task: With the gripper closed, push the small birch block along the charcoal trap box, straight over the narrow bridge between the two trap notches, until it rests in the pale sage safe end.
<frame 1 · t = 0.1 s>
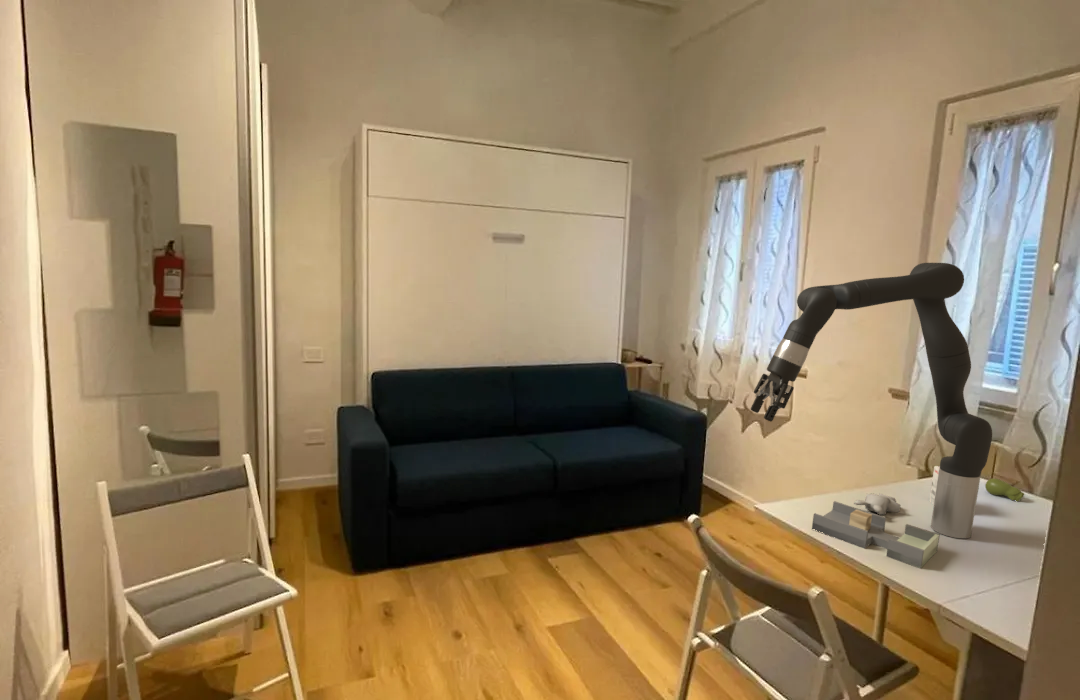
hand: (760, 415, 157), 31 cm above the table, tool tilted 20°, fingers open, 8 cm apart
bunny figurine: (877, 512, 176), on the table
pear: (1003, 497, 192), on the table
ink box: (943, 508, 181), on the table
trap box: (872, 539, 157), on the table
birch block: (859, 528, 160), point 2 cm above the table, touching trap box
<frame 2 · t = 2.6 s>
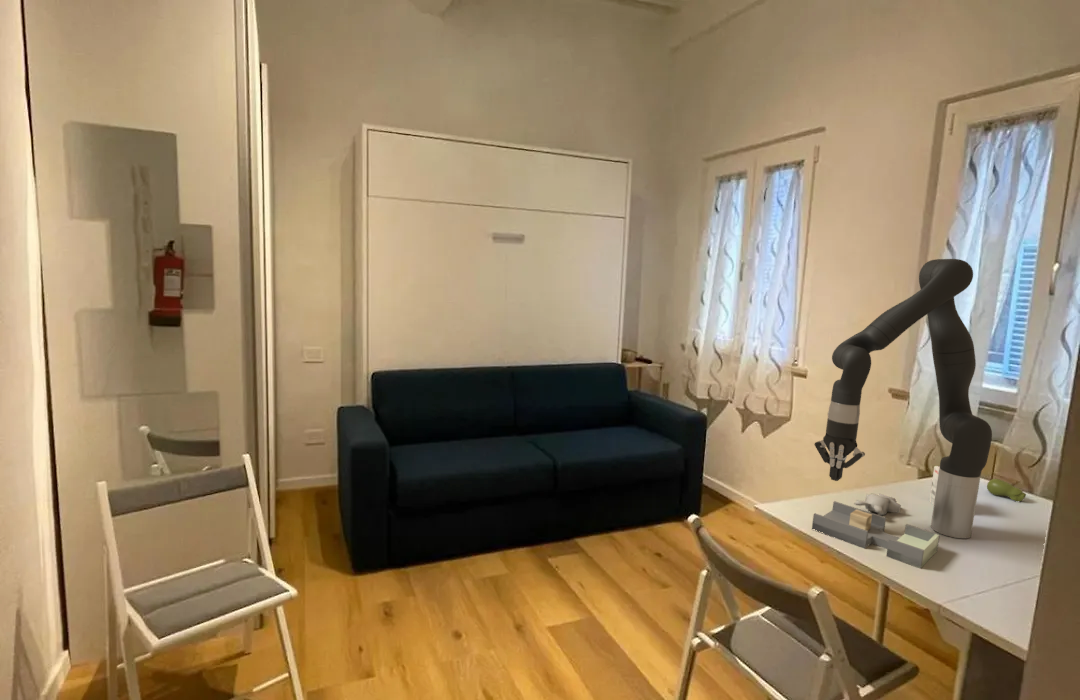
hand: (834, 479, 163), 13 cm above the table, tool pointing down, fingers closed
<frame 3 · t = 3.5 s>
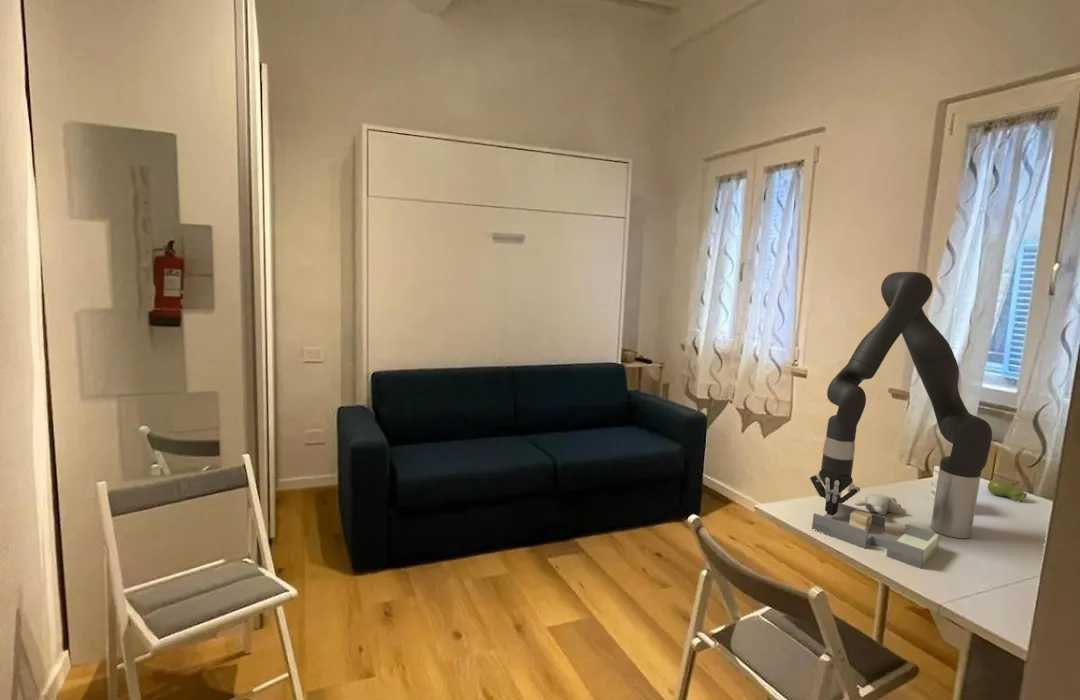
hand: (830, 514, 165), 3 cm above the table, tool pointing down, fingers closed
nothing on the table moved.
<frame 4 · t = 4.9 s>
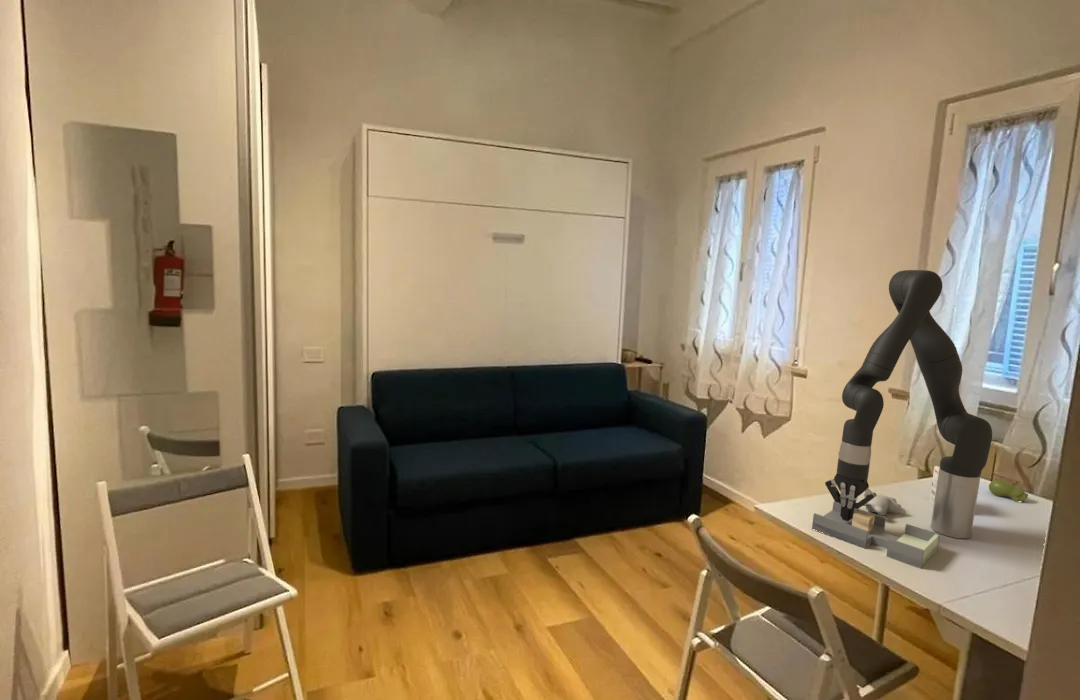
hand: (846, 519, 162), 3 cm above the table, tool pointing down, fingers closed
birch block: (862, 529, 159), point 2 cm above the table, touching gripper, trap box
everything else where it was.
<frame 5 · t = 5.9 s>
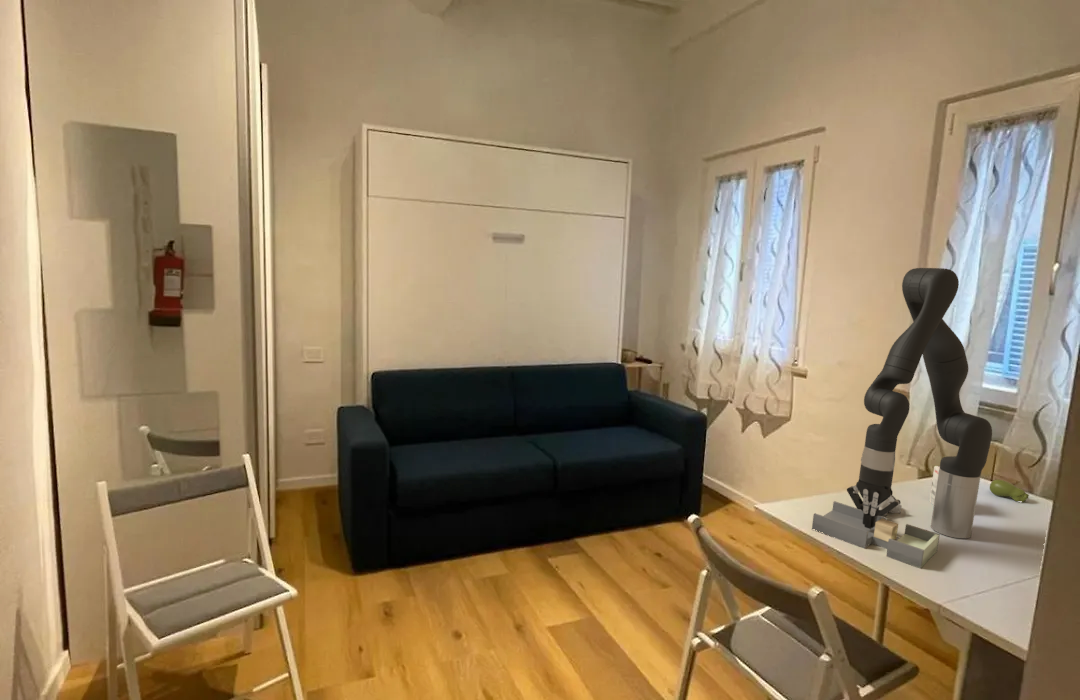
hand: (868, 527, 158), 3 cm above the table, tool pointing down, fingers closed
birch block: (885, 537, 155), point 2 cm above the table, touching gripper
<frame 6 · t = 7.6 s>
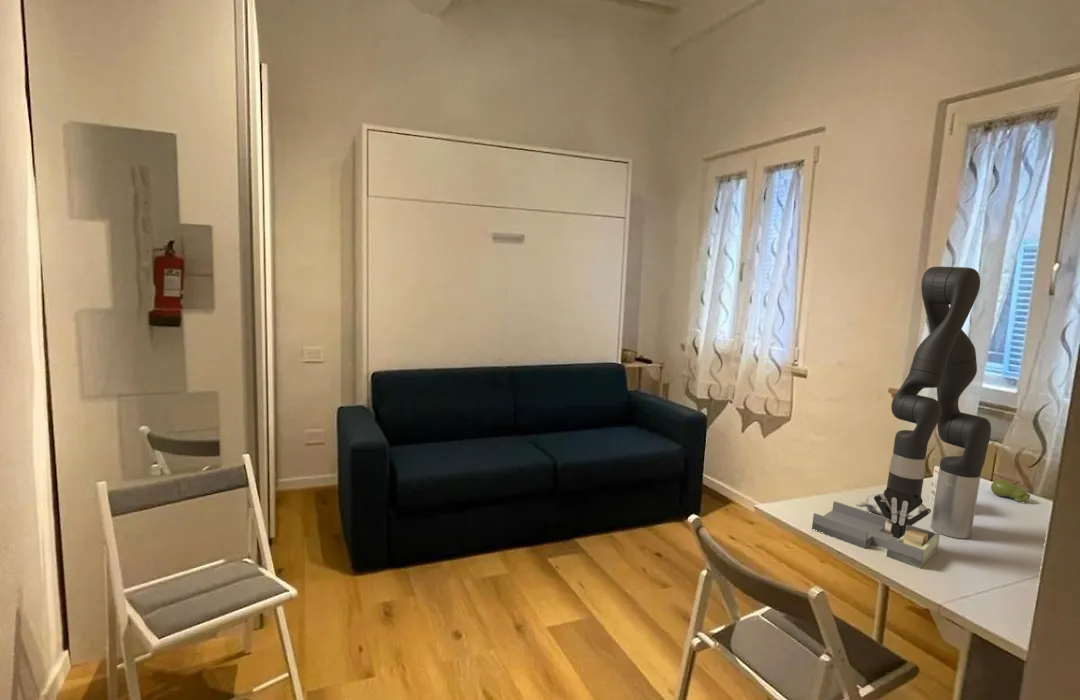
hand: (896, 536, 153), 3 cm above the table, tool pointing down, fingers closed
birch block: (914, 547, 150), point 2 cm above the table, touching gripper, trap box
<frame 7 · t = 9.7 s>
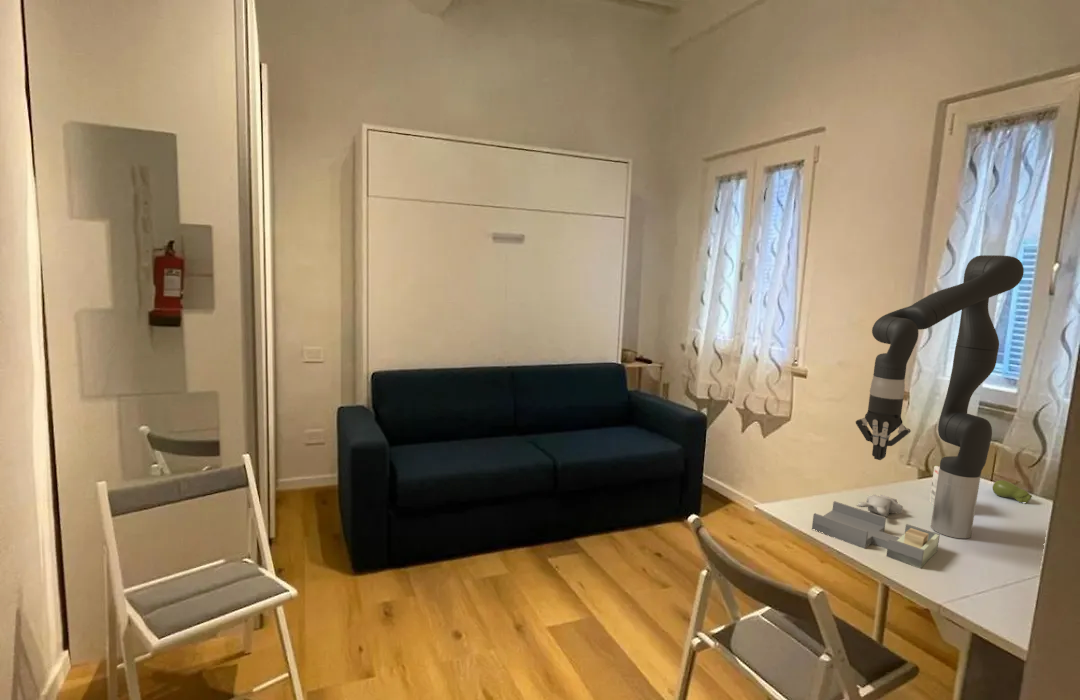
hand: (878, 458, 156), 22 cm above the table, tool pointing down, fingers closed
birch block: (914, 548, 149), point 2 cm above the table, touching trap box
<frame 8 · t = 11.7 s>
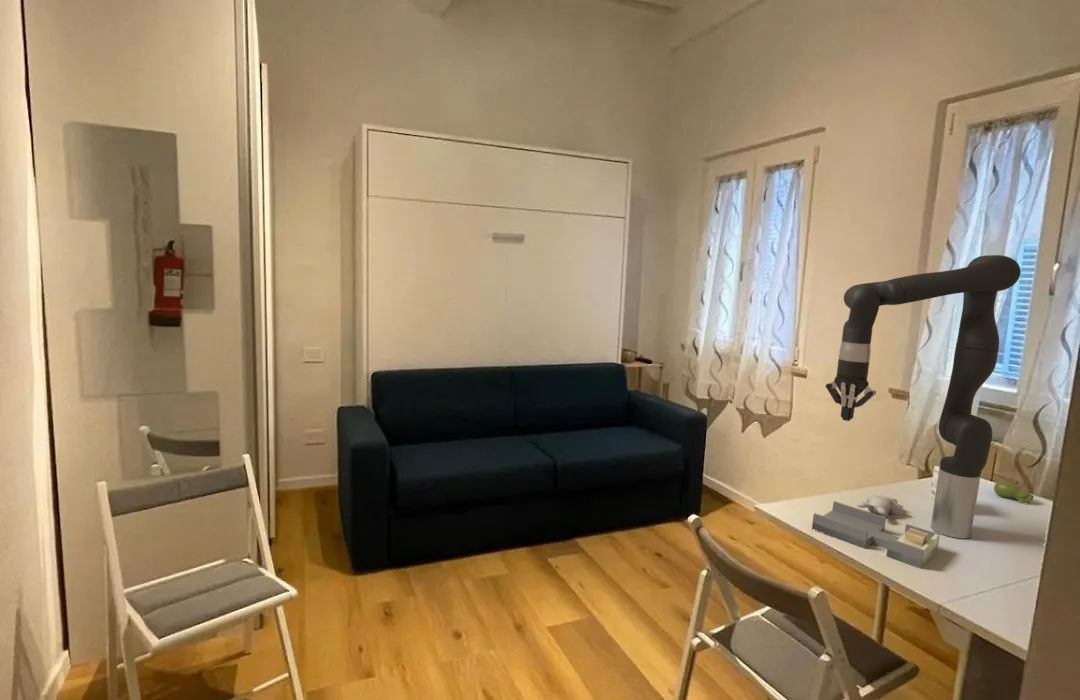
hand: (846, 420, 165), 29 cm above the table, tool pointing down, fingers closed
at the end: birch block 1.0 cm from the target spot on the trap box, point 2.0 cm above the trap box's base; birch block tilted 0°; birch block touching trap box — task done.
